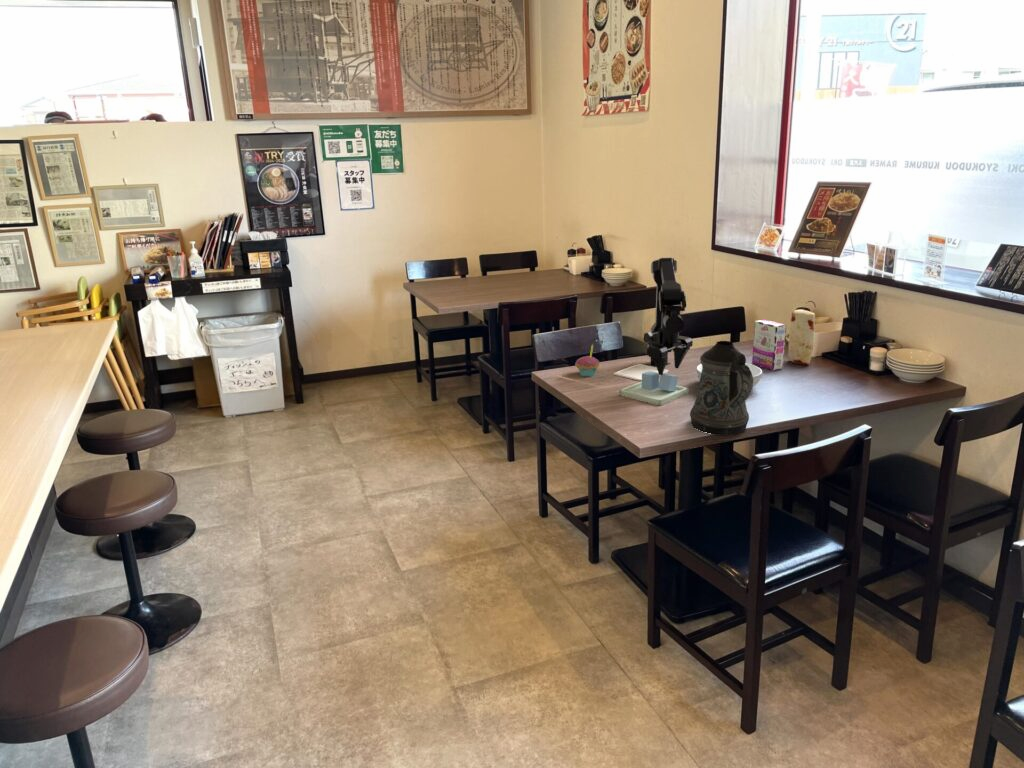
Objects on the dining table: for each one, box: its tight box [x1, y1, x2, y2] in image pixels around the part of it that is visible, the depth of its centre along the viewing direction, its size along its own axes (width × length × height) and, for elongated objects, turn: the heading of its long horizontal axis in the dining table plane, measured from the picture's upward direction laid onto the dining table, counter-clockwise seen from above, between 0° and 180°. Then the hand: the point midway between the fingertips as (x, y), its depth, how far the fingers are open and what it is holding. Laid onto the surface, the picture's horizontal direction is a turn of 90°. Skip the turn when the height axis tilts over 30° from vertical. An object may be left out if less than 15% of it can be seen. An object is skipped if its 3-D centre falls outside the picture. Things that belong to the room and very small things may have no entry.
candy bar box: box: [751, 319, 787, 372], centre depth 269 cm, size 11×5×16 cm, turn 25°
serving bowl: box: [696, 362, 763, 388], centre depth 249 cm, size 21×21×7 cm
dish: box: [612, 363, 670, 382], centre depth 267 cm, size 15×13×1 cm
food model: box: [787, 308, 816, 366], centre depth 271 cm, size 10×7×20 cm
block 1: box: [642, 371, 660, 390], centre depth 249 cm, size 4×4×5 cm
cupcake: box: [574, 344, 600, 377], centre depth 266 cm, size 9×8×12 cm
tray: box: [618, 380, 689, 407], centre depth 246 cm, size 16×16×2 cm
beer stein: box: [689, 340, 754, 436], centre depth 213 cm, size 16×19×25 cm
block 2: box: [658, 373, 679, 391], centre depth 245 cm, size 4×4×5 cm
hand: (668, 371), depth 248 cm, fingers open, 9 cm apart
